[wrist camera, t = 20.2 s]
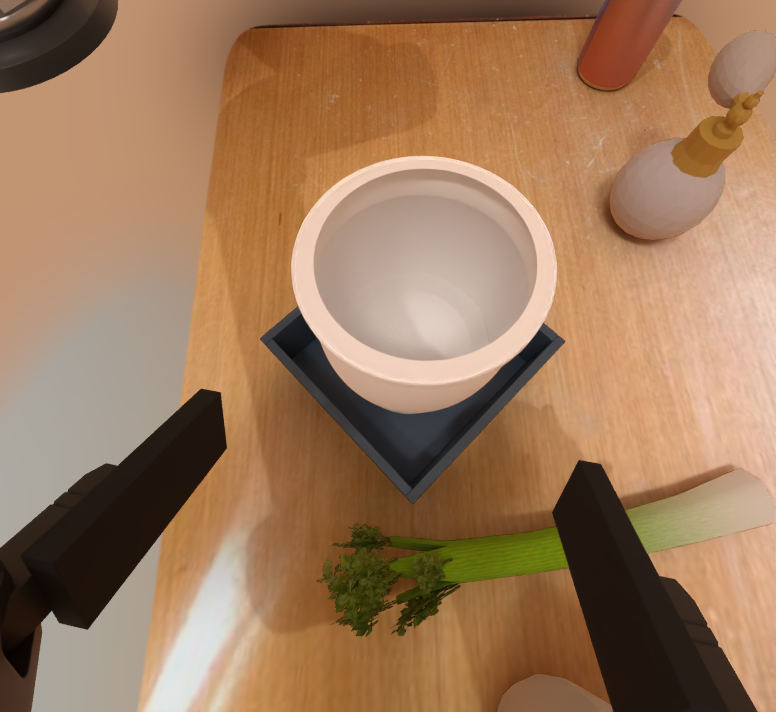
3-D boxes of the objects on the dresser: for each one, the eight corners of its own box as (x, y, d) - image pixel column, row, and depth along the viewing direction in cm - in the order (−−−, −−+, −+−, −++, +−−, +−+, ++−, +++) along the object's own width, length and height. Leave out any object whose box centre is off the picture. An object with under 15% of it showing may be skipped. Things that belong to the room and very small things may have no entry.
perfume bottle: (605, 258, 32) (725, 141, 20) (579, 168, 35) (672, 21, 23) (690, 251, 32) (857, 131, 21) (657, 162, 35) (788, 13, 23)
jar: (350, 440, 27) (304, 409, 13) (332, 312, 30) (278, 171, 16) (490, 415, 27) (599, 357, 13) (459, 292, 30) (519, 136, 16)
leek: (739, 544, 27) (331, 642, 23) (690, 449, 30) (319, 523, 26) (836, 548, 21) (319, 677, 18) (763, 431, 24) (306, 522, 21)
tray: (283, 361, 29) (259, 338, 24) (407, 253, 32) (410, 210, 27) (408, 497, 26) (412, 504, 21) (533, 364, 29) (565, 341, 24)
